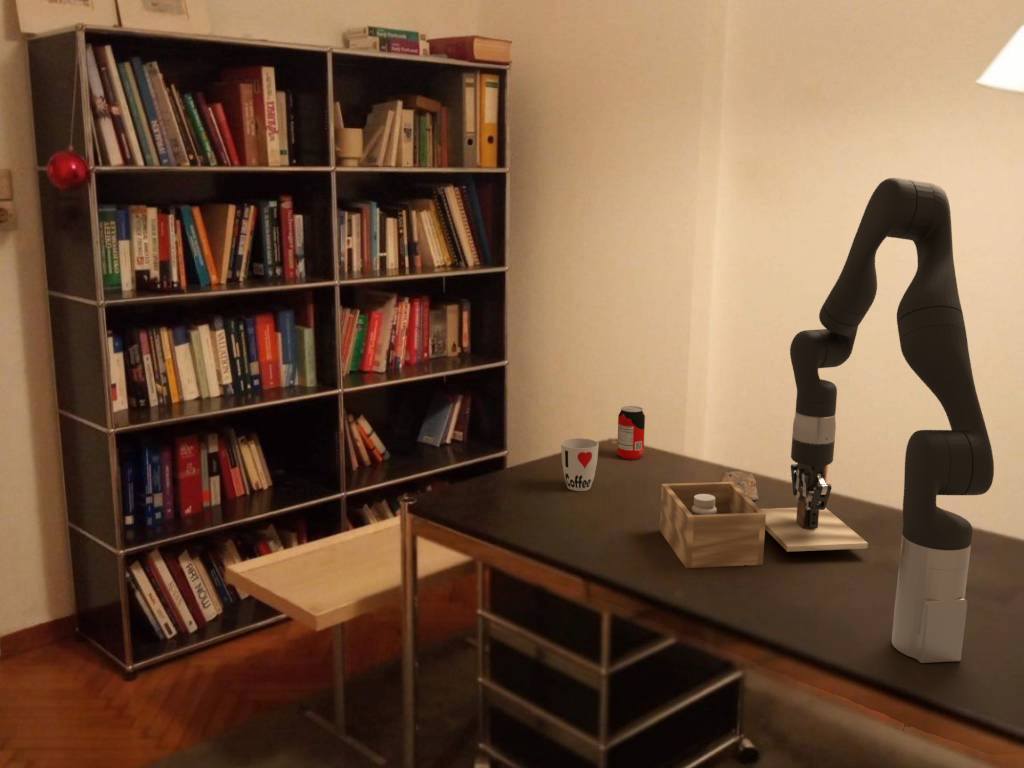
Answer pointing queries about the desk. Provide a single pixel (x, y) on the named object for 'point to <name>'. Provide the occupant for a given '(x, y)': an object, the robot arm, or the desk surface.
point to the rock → (742, 482)
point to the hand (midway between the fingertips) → (806, 524)
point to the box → (712, 526)
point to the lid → (810, 530)
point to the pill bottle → (703, 505)
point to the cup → (579, 462)
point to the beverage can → (631, 432)
